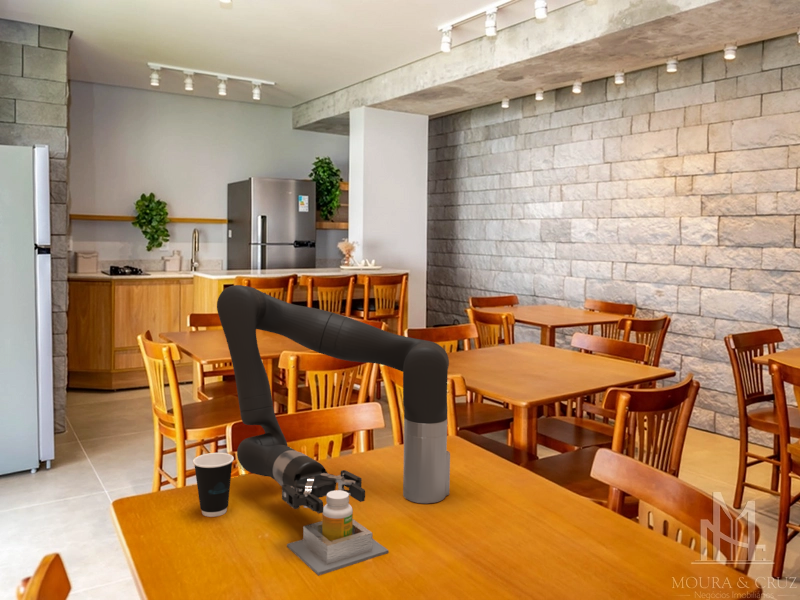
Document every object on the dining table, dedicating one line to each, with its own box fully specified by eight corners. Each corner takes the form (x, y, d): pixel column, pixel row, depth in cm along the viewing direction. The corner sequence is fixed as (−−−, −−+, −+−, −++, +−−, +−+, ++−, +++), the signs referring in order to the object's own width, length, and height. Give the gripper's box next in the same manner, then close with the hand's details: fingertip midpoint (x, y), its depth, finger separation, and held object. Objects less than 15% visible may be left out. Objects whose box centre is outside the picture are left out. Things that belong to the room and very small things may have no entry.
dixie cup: (218, 523, 128) (217, 468, 127) (185, 516, 131) (184, 462, 130) (242, 507, 136) (241, 455, 135) (210, 501, 138) (209, 450, 137)
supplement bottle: (347, 555, 115) (348, 501, 114) (317, 551, 116) (318, 498, 115) (355, 541, 120) (356, 490, 119) (327, 538, 121) (328, 487, 120)
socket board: (353, 531, 127) (353, 508, 127) (388, 556, 117) (388, 532, 117) (287, 550, 119) (287, 526, 119) (318, 579, 109) (318, 553, 109)
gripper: (265, 462, 124) (306, 490, 111) (330, 448, 133) (376, 472, 120) (265, 501, 125) (307, 533, 112) (330, 484, 133) (376, 512, 120)
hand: (342, 501), depth 116 cm, fingers open, 8 cm apart
